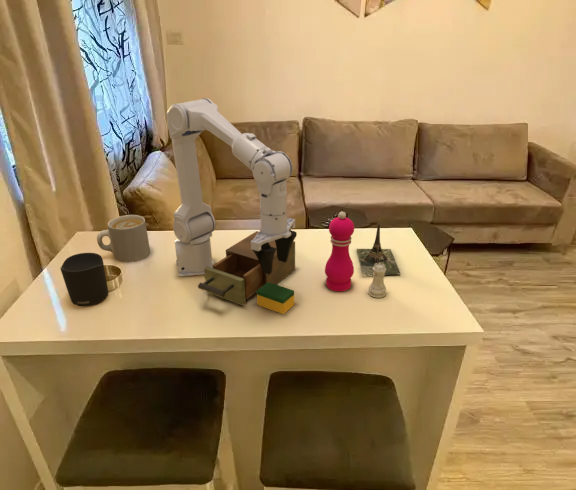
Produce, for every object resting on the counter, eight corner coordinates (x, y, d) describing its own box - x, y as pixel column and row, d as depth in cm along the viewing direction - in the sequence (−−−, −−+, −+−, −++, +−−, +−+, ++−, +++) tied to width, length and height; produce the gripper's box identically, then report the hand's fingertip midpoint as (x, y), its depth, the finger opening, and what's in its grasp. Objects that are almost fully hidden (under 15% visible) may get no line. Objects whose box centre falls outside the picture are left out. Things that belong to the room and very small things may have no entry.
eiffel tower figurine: (401, 276, 126) (407, 229, 119) (362, 276, 126) (366, 230, 119) (390, 250, 139) (395, 207, 133) (355, 250, 139) (358, 207, 132)
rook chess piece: (387, 290, 120) (390, 262, 116) (384, 299, 116) (387, 271, 112) (369, 287, 121) (372, 259, 117) (366, 296, 118) (368, 268, 114)
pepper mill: (356, 281, 124) (361, 208, 114) (347, 295, 118) (352, 220, 108) (330, 275, 127) (333, 204, 117) (320, 288, 121) (322, 214, 111)
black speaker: (61, 300, 117) (51, 264, 112) (94, 284, 124) (86, 249, 119) (85, 312, 112) (75, 275, 107) (118, 294, 119) (110, 259, 114)
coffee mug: (152, 245, 143) (146, 213, 138) (148, 260, 134) (142, 228, 130) (105, 248, 141) (98, 216, 137) (98, 264, 133) (91, 231, 128)
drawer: (230, 315, 110) (228, 290, 106) (193, 301, 115) (190, 276, 112) (272, 282, 122) (271, 259, 119) (237, 271, 127) (235, 248, 124)
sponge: (283, 314, 111) (283, 299, 109) (257, 304, 115) (256, 290, 113) (294, 304, 115) (294, 290, 113) (268, 295, 118) (268, 281, 116)
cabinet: (266, 292, 120) (265, 262, 116) (227, 278, 126) (225, 249, 121) (295, 269, 130) (295, 241, 125) (257, 258, 135) (256, 231, 131)
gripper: (269, 226, 96) (271, 285, 102) (307, 203, 106) (306, 258, 113) (241, 219, 99) (244, 276, 106) (280, 197, 110) (281, 251, 116)
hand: (274, 266), depth 110 cm, fingers open, 6 cm apart
